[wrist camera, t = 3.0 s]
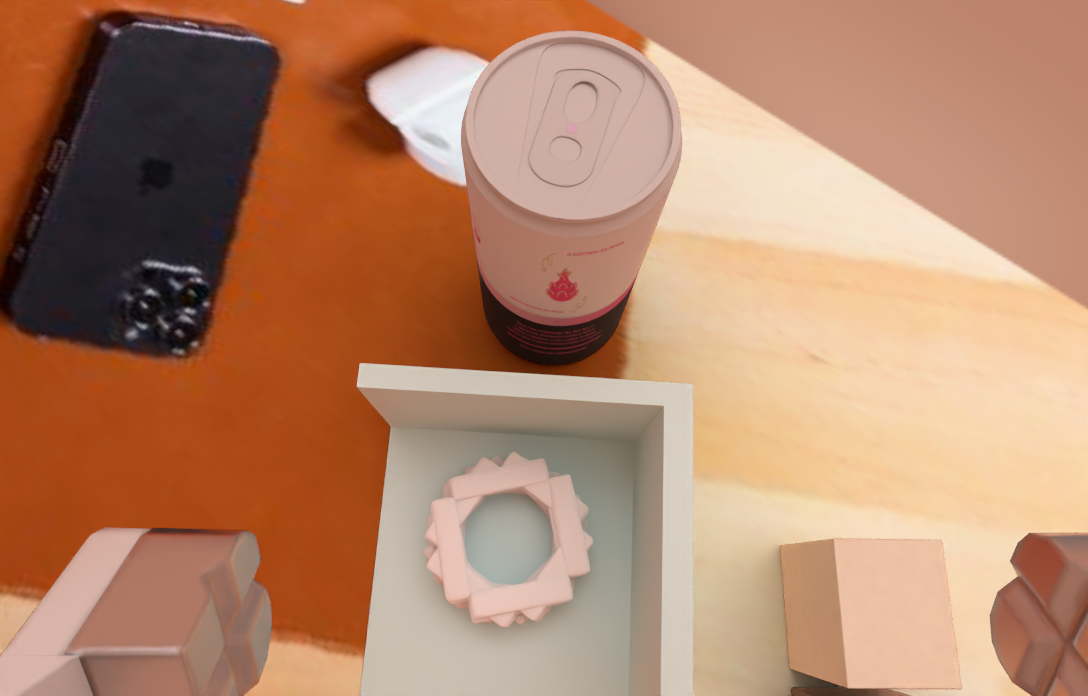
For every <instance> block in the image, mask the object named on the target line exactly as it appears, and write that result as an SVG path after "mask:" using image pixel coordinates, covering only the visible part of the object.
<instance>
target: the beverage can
mask: <svg viewBox="0 0 1088 696" xmlns="http://www.w3.org/2000/svg"><path fill="white" fill-rule="evenodd" d="M461 145H462V154H463V161H464V168H465V175H466V183H467V190H468V197H469V205H470V212H471V219H472V226H473V234H474V241H475V248H476V256H477V263H478V270H479V277H480V285H481V292H482V299H483V307H484V312H485V316H486V319H487V321H488V324H489V326H490V328H491V330H492V331H493V333H494V334H495V336H496V337H497V338H498V340H499V341H500V342H501V343H502V344H503V345H504V346H505V347H506V348H507V349H509V350H510V351H511V352H513V353H514V354H516V355H518V356H520V357H522V358H524V359H526V360H529V361H532V362H535V363H540V364H546V365H562V364H568V363H573V362H576V361H579V360H582V359H584V358H586V357H588V356H590V355H592V354H593V353H595V352H596V351H598V350H599V349H600V348H601V347H602V346H603V345H604V344H605V343H606V342H607V341H608V340H609V339H610V338H611V336H612V335H613V333H614V332H615V330H616V328H617V326H618V324H619V321H620V318H621V316H622V313H623V311H624V308H625V306H626V303H627V300H628V298H629V295H630V293H631V290H632V287H633V285H634V282H635V280H636V277H637V274H638V272H639V269H640V267H641V264H642V261H643V259H644V256H645V254H646V251H647V248H648V246H649V243H650V241H651V238H652V235H653V233H654V230H655V228H656V225H657V222H658V220H659V217H660V215H661V212H662V209H663V207H664V204H665V202H666V199H667V197H668V194H669V191H670V189H671V186H672V184H673V181H674V178H675V176H676V173H677V170H678V167H679V163H680V159H681V153H682V133H681V119H680V112H679V107H678V104H677V101H676V98H675V96H674V93H673V91H672V89H671V87H670V85H669V84H668V82H667V80H666V79H665V77H664V76H663V75H662V73H661V72H660V71H659V70H658V69H657V67H656V66H655V65H654V64H653V63H652V62H651V61H649V60H648V59H647V58H646V57H645V56H643V55H642V54H641V53H640V52H638V51H637V50H635V49H633V48H632V47H630V46H628V45H627V44H624V43H622V42H620V41H618V40H615V39H613V38H610V37H607V36H604V35H600V34H596V33H590V32H583V31H558V32H550V33H545V34H540V35H537V36H533V37H531V38H528V39H525V40H523V41H521V42H519V43H517V44H515V45H513V46H511V47H509V48H508V49H506V50H505V51H504V52H502V53H501V54H500V55H498V56H497V57H496V58H495V59H494V60H493V61H492V62H491V63H490V64H489V65H488V66H487V67H486V68H485V69H484V71H483V72H482V73H481V75H480V76H479V78H478V80H477V81H476V83H475V85H474V87H473V89H472V91H471V94H470V97H469V100H468V104H467V107H466V110H465V113H464V117H463V122H462V129H461Z"/></svg>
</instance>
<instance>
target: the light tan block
mask: <svg viewBox="0 0 1088 696" xmlns="http://www.w3.org/2000/svg"><path fill="white" fill-rule="evenodd" d="M780 549H781V563H782V576H783V589H784V602H785V616H786V629H787V642H788V655H789V668H790V669H792V670H795V671H798V672H801V673H804V674H807V675H810V676H813V677H816V678H819V679H822V680H825V681H828V682H831V683H834V684H837V685H840V686H843V687H845V688H848V689H962V685H961V678H960V670H959V663H958V655H957V648H956V640H955V633H954V625H953V618H952V611H951V603H950V596H949V588H948V581H947V573H946V566H945V558H944V551H943V543H942V540H919V539H826V540H818V541H810V542H802V543H794V544H786V545H781V546H780Z"/></svg>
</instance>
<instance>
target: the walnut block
mask: <svg viewBox="0 0 1088 696" xmlns="http://www.w3.org/2000/svg"><path fill="white" fill-rule="evenodd" d="M791 692H792V696H910V695H906V694H903V693H900V692H897V691H893V690H890V689H848V688H814V687H793V688H792V689H791Z"/></svg>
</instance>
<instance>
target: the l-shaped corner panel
mask: <svg viewBox="0 0 1088 696" xmlns="http://www.w3.org/2000/svg"><path fill="white" fill-rule="evenodd" d="M357 388H358V389H359V390H360V391H361V393H362V394H363V395H364V396H365V397H366V398H367V400H368V401H369V402H370V403H371V404H372V405H373V407H374V408H375V409H376V410H377V411H378V412H379V414H380V415H381V416H382V417H383V418H384V419H385V421H386V422H387V423H388V424H389V425H390V426H391V430H390V439H389V447H388V456H387V465H386V473H385V482H384V491H383V500H382V508H381V517H380V526H379V534H378V543H377V552H376V560H375V569H374V578H373V587H372V595H371V604H370V613H369V621H368V630H367V639H366V647H365V656H364V665H363V674H362V682H361V691H360V696H693V384H690V383H674V382H658V381H642V380H626V379H609V378H593V377H577V376H561V375H545V374H528V373H512V372H496V371H480V370H463V369H447V368H431V367H415V366H399V365H382V364H366V363H360V365H359V373H358V380H357Z"/></svg>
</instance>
